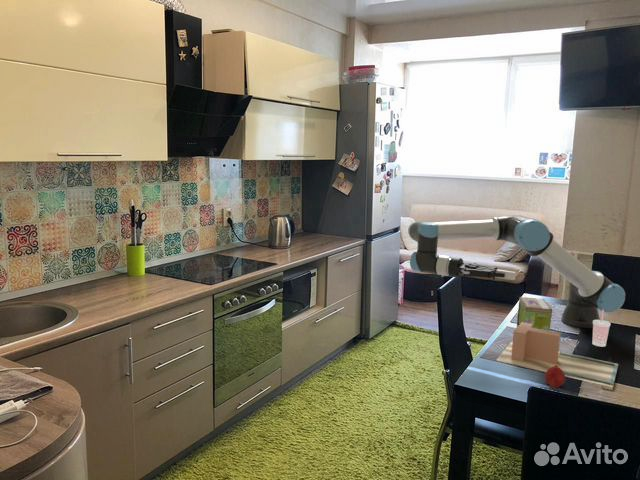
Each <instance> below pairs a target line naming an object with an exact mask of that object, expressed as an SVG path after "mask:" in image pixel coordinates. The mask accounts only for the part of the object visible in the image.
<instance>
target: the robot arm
mask: <svg viewBox="0 0 640 480" xmlns="http://www.w3.org/2000/svg"><path fill="white" fill-rule="evenodd" d="M407 233H408V235H409V237H410V238H411V239H412V240H413V241H415V242H417V248H416V249H417V251H413V252H412V253H411V255H410V260H409V266H410V267H409V268H410V269H411V270H413V271H415V272H419V273H425V274H432V275H438V276H441V278H442V277H451V278H457V279H458V278H460V277H462V275H463V277H477V278H485V279H492V280H495V279H496V278H497V279H503V280H509V281H510V280H511V281H515V280H516V275H517V274H516V271H511V270H505V269H499V268H498V266H495V267H493V266H488V265H483V264H478V263H475V262H474V263H470V262H467V263H464V260H463V258H461V257H455V256H453V257H452V256H449V255H441V254H437V253H438V245H439V244H438V243H439V241H457V240H476V239H477V240H478V239H481V240H482V239H492V240H493V241H503V242H504V241H505V242H508V243H511V244H513V245H516V246H518V247H519V248H520V249H522V250H523V251H524V252H526V253H527V254H528V255H529V256H530V257H534V258H535V257H538V258H540V260H542V261H544V263H545V264H547V265H548V266H549V267H551V268H552V269H553V270H554V271H556V272H557V273H559V274H560V275H561V276H562V277H564V278H565V279H566V280H567V281H568V282H569V287H568V288H569V289H568V296H567V297H568V298H567V304H566V306H565V308H564V311H563V313H562V315H561V321H562V322H563V323H564V324H566V325H569V326H572V327H576V328H581V329H593V320H601V318H600V314H599V310H600V311H601V312H602V310H604V313H614V312H616V311H618V310H619V309H620V308H622V306H623V305H624V303H625V300H626V292H625V290H624V288H623V287H622V286H621V285H619V284H617V283H614V282H612V281H611V280H610V279H608V277H606V276H605V275H604V274H603V273H602V272H601V271H598V270H597V271H596V270H591V269H590V268H589V267H587V266H586V265H585V264H584V263H583V262H581V261H580V260H579V259H578V258H576V257H575V256H574V255H573V254H572V253H570V251H568V250H567V249H565V247H563V246H562V245H560V244H559V243H558V242H557V241H556V240H554V234H553V233H552V232H551V231H550V229H549V228H548V227H547V225H546V224H545V223H543V222H542V221H540V220H539V219H534V218H531V217H527V216H523V215H521V214H519V215H517V214H514V215H505V216H503V215H502V216H492V217H491V219H479V220H458V221H455V220H454V221H440V222H439V221H437V222H435V221H434V222H432V221H431V222H428V221H426V222H425V221H423V222H421V221H414V222H412V223H411V224H410V225H409V227H408V230H407Z"/></svg>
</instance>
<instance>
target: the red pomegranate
mask: <svg viewBox="0 0 640 480" xmlns="http://www.w3.org/2000/svg"><path fill="white" fill-rule="evenodd" d="M544 380H545V381H546V383H547V384H548V385H549V386H550V387H551V388H552V389H554V390H555V389H558V388H559V387H561V386H563V385H564V384H565V382H566V376H565V374H564V372H563V371H562V370H561V369H560V368H559V367H558V365H555V366H553V367H551V368H549V369H548V370H547V372H545V374H544Z"/></svg>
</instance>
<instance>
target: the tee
mask: <svg viewBox="0 0 640 480" xmlns="http://www.w3.org/2000/svg"><path fill="white" fill-rule="evenodd" d="M561 335H562V334H561V332H557V331H551V330H550V331H547V330H542V329H537V328H533V324H528V323H523V322H521V323H520V325H519V326H518V327H517V326H516V328H515V329H514V330H513V336H512V342H513V344H512V355H511V358H512V359H516V360H521V361H523V360H524V359H525V358H531V359H535V360H540V361H544V362H549V363H553V364H556V363H557V361H558V355H559V352H560V345H561Z"/></svg>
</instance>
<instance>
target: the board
mask: <svg viewBox="0 0 640 480" xmlns="http://www.w3.org/2000/svg"><path fill="white" fill-rule="evenodd" d="M512 344H513V341H511V342H510V343H508V345H507V346H506V348H505V349H504V350H503V352H501V354H500V355H499V356H498V357H497V358H496V359H495V361H496V362H501V363H505V364H510V365H515V366H518V367H523V368H527V369H531V370H535V371H541V372H544V373H546V372H547V370H548V369H549V368H551V367H553V366H555V365H558V367H559V368H560V369H561V370H562V371H563V372H564V374H565V378H566V377H567V378H571V379H575V380H580V381H583V382H588V383H592V384H597V385H600V387H601V389H606V390H610V391H613V390H614V389H613V388H614V384H615V381H616V377H617V372H618V369H619V363H617V362H616V363H615V362H612V361H611V362H610V361H605V360H601V359H596V358H592V357H589V356H587V357H586V356H582V355H577V354H573V353H568V352H563V351H559V355H558V361H557V363H556V364H553V363H549V362H544V361H540V360H535V359H531V358H525V359H524V360H523V361H521V360H516V359H512V358H511V355H512Z"/></svg>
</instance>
